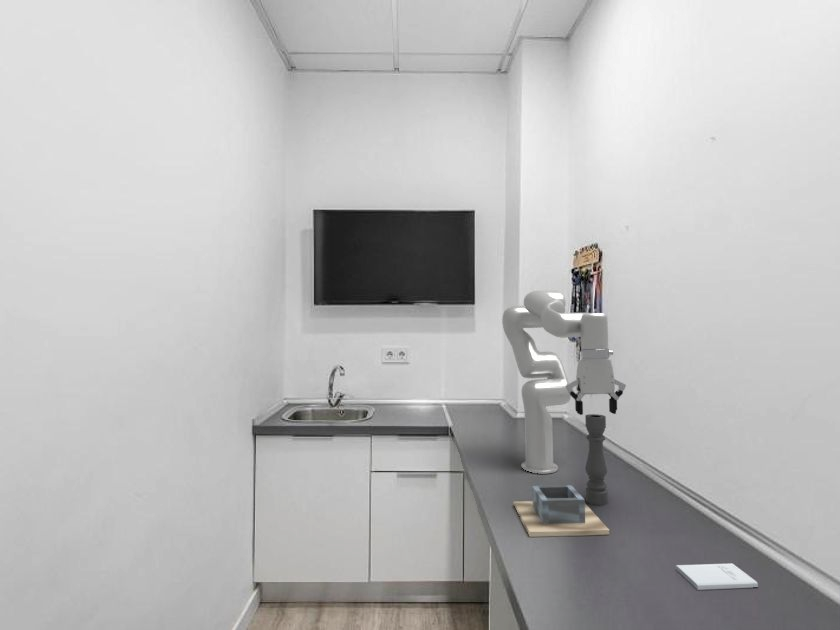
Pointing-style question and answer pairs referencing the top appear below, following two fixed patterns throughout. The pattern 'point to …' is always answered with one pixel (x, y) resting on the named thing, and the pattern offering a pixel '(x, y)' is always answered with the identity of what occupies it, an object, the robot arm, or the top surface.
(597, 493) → the candle holder
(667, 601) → the top surface
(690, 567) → the external hard drive
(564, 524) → the socket board
